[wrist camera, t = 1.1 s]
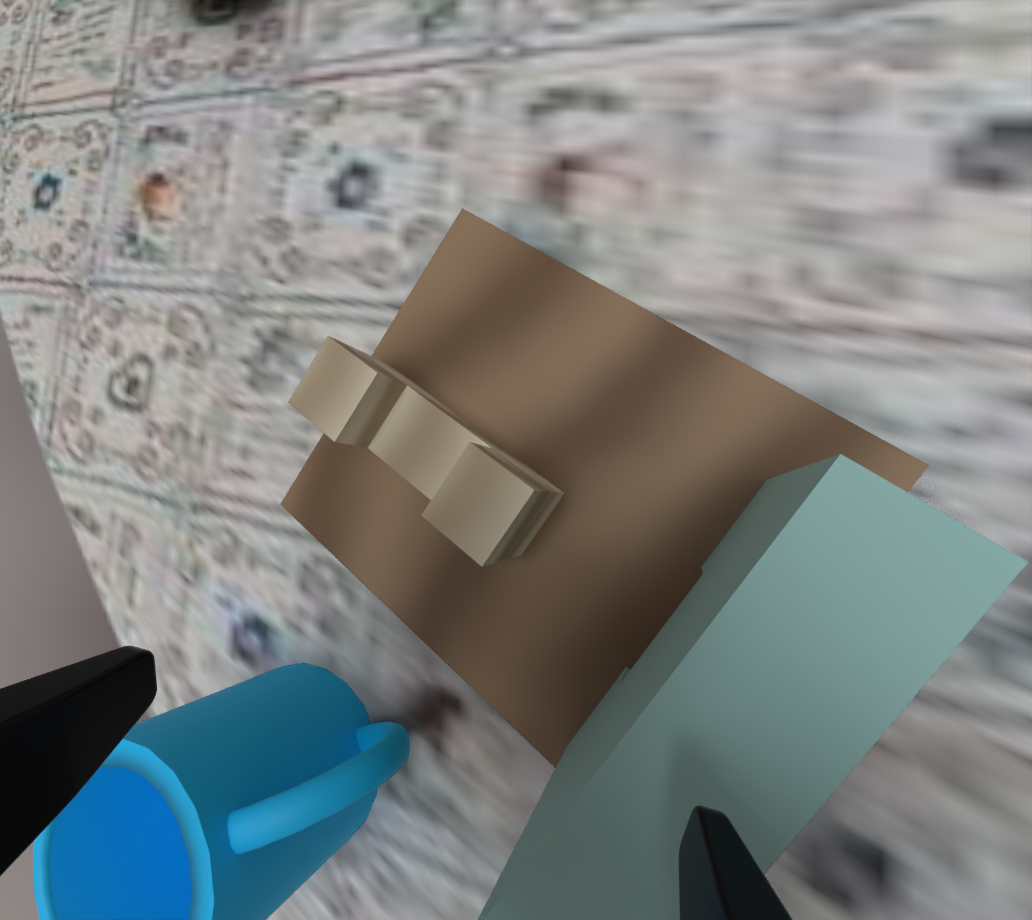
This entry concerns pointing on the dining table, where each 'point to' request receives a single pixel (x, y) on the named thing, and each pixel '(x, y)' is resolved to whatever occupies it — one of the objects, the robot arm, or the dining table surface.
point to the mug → (219, 804)
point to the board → (564, 474)
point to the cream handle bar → (428, 452)
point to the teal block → (755, 691)
